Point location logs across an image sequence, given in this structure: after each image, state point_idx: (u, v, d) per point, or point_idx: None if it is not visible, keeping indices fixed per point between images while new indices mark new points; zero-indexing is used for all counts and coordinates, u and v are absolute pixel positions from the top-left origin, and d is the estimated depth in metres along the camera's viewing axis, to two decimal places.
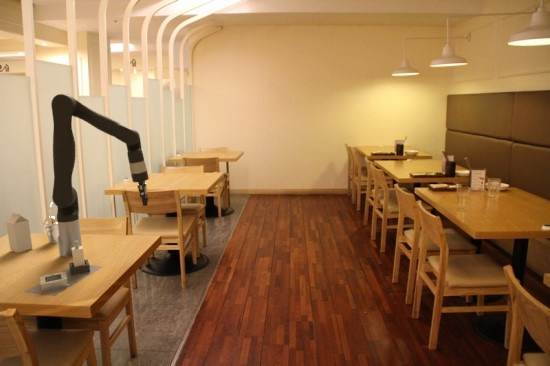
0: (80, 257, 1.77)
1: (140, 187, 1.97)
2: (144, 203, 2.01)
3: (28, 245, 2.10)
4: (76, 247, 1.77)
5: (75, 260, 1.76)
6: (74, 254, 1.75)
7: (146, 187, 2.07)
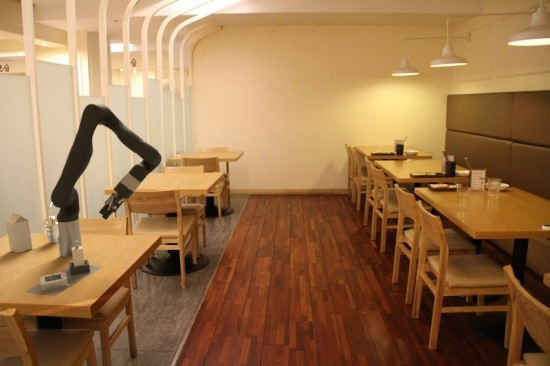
0: (80, 257, 1.77)
1: (119, 201, 1.76)
2: (105, 216, 1.76)
3: (28, 245, 2.10)
4: (76, 247, 1.77)
5: (75, 260, 1.76)
6: (74, 254, 1.75)
7: None
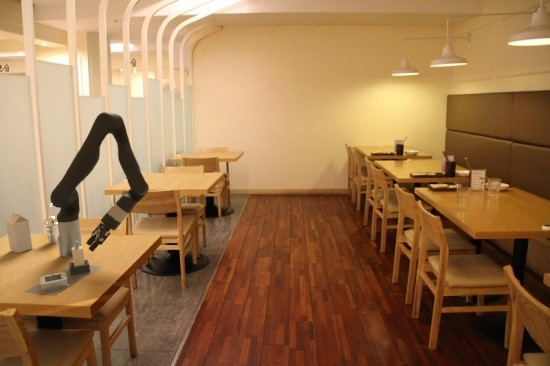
0: (80, 257, 1.77)
1: (106, 233, 1.76)
2: (92, 248, 1.75)
3: (28, 245, 2.10)
4: (76, 247, 1.77)
5: (75, 260, 1.76)
6: (74, 254, 1.75)
7: None
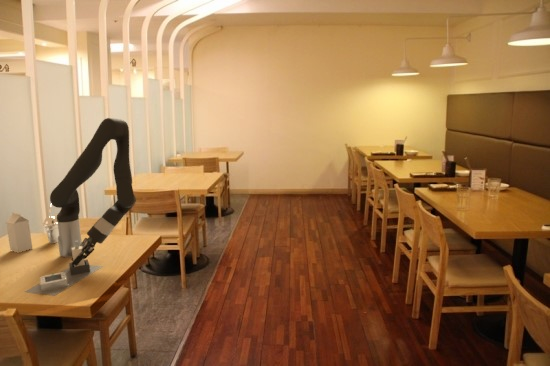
0: None
1: (89, 249, 1.74)
2: (76, 262, 1.75)
3: (28, 245, 2.10)
4: (76, 247, 1.77)
5: None
6: (74, 254, 1.75)
7: None
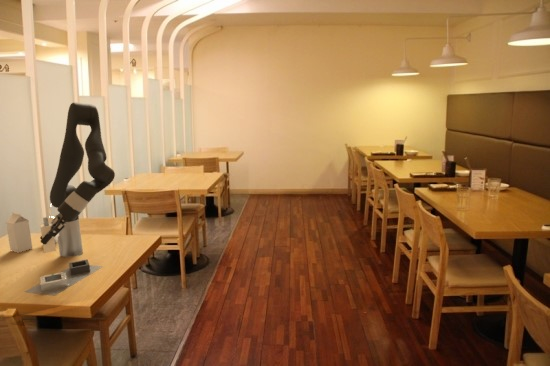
0: None
1: (59, 226, 1.57)
2: (44, 240, 1.59)
3: (28, 245, 2.10)
4: (45, 224, 1.60)
5: None
6: (43, 232, 1.59)
7: None
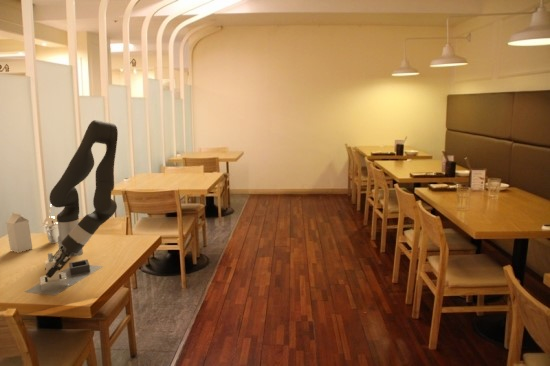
0: None
1: (65, 259, 1.60)
2: (49, 274, 1.60)
3: (28, 245, 2.10)
4: (50, 260, 1.63)
5: None
6: (47, 268, 1.62)
7: None
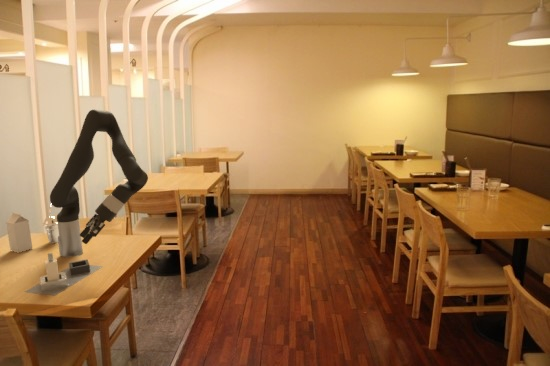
0: (54, 271, 1.63)
1: (100, 224, 1.65)
2: (85, 240, 1.65)
3: (28, 245, 2.10)
4: (50, 260, 1.63)
5: (48, 274, 1.62)
6: (47, 268, 1.62)
7: None
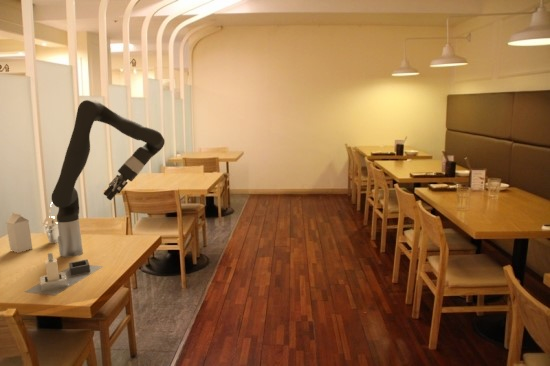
0: (54, 271, 1.63)
1: (123, 182, 1.80)
2: (110, 196, 1.80)
3: (28, 245, 2.10)
4: (50, 260, 1.63)
5: (48, 274, 1.62)
6: (47, 268, 1.62)
7: None
